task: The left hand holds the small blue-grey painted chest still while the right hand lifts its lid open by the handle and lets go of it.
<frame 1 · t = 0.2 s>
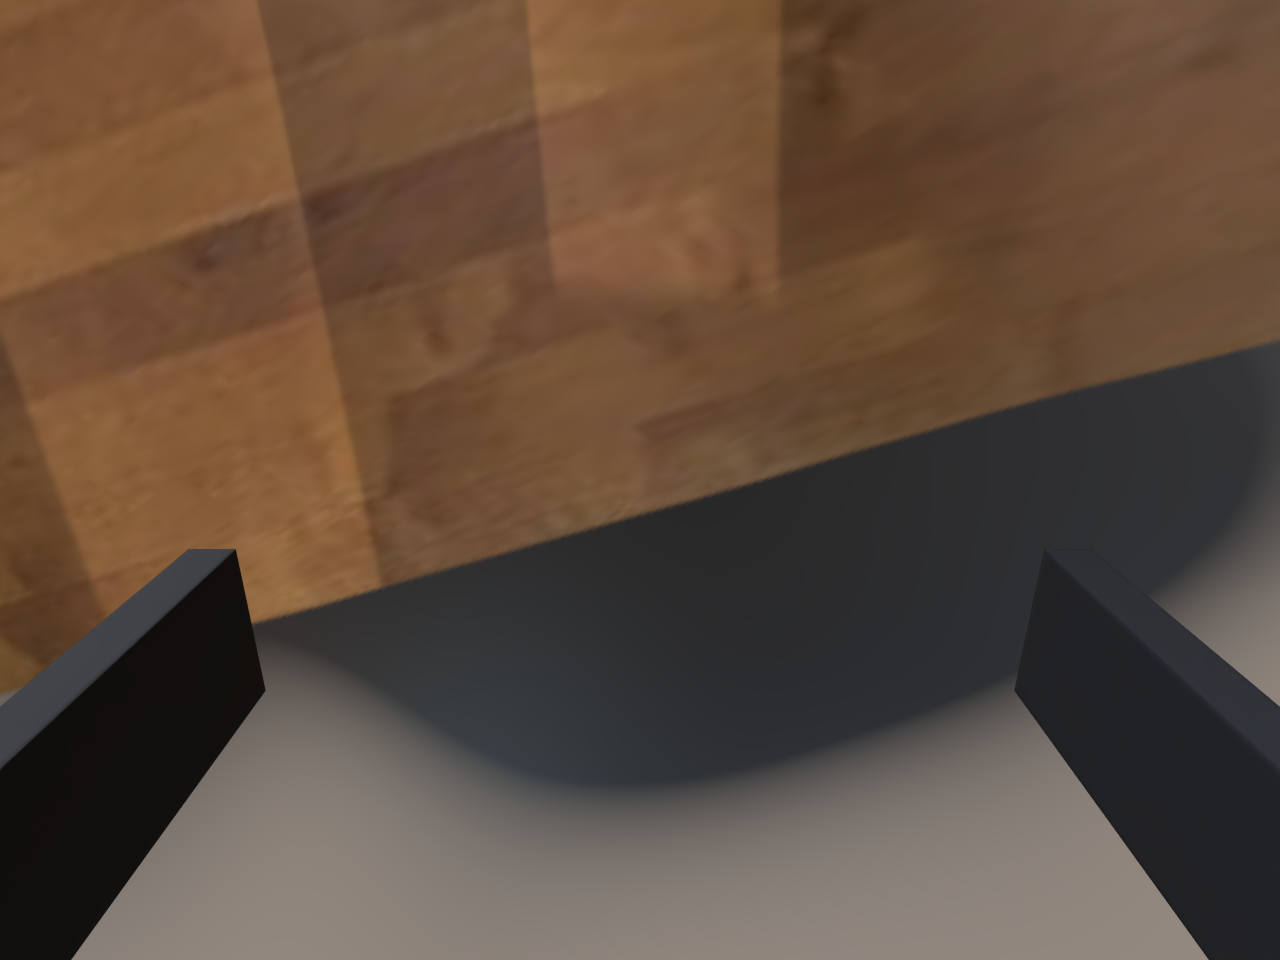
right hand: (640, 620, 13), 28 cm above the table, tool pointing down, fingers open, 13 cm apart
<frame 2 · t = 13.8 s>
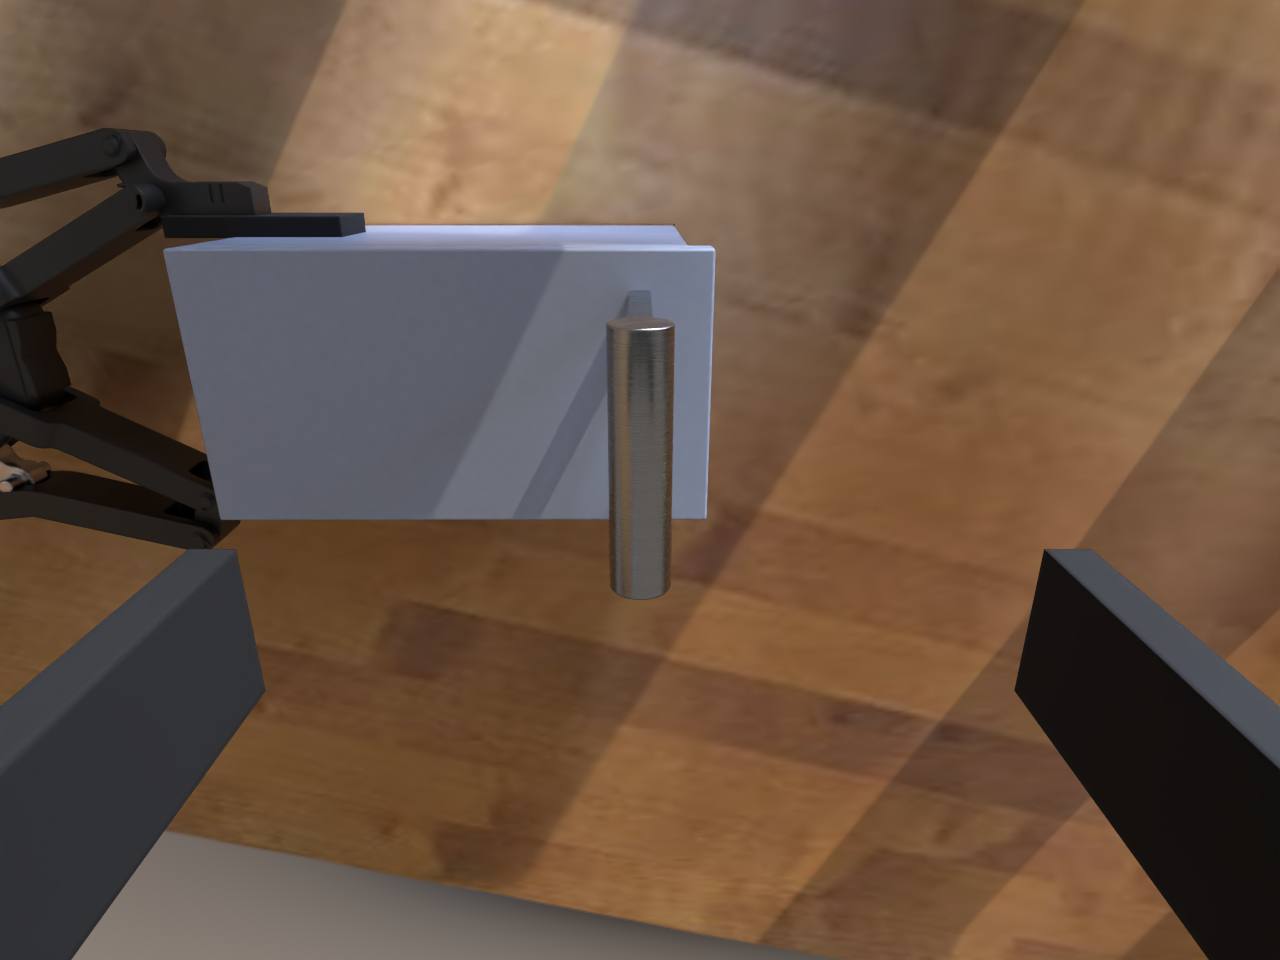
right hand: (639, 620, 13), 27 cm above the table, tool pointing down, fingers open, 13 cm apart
left hand: (369, 354, 32), fingers closed on chest, 9 cm apart
lid: (428, 421, 23), point 16 cm above the table, hinge at 0.0°
chest: (500, 325, 38), on the table, touching left hand
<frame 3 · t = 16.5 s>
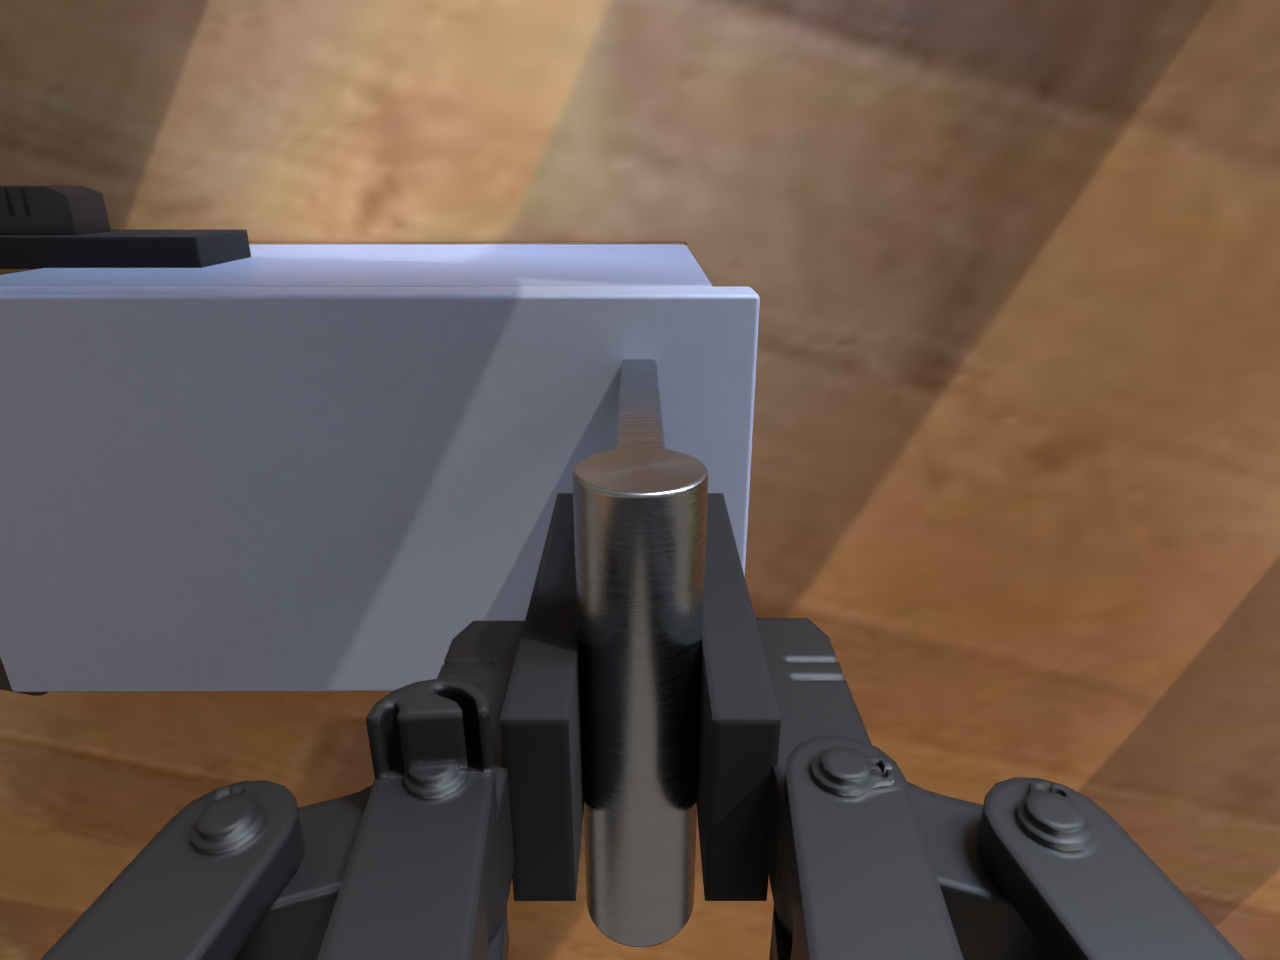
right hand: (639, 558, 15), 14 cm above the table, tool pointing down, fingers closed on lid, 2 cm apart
lid: (289, 584, 14), point 16 cm above the table, hinge at -0.1°, touching right hand
chest: (455, 375, 28), on the table, touching left hand
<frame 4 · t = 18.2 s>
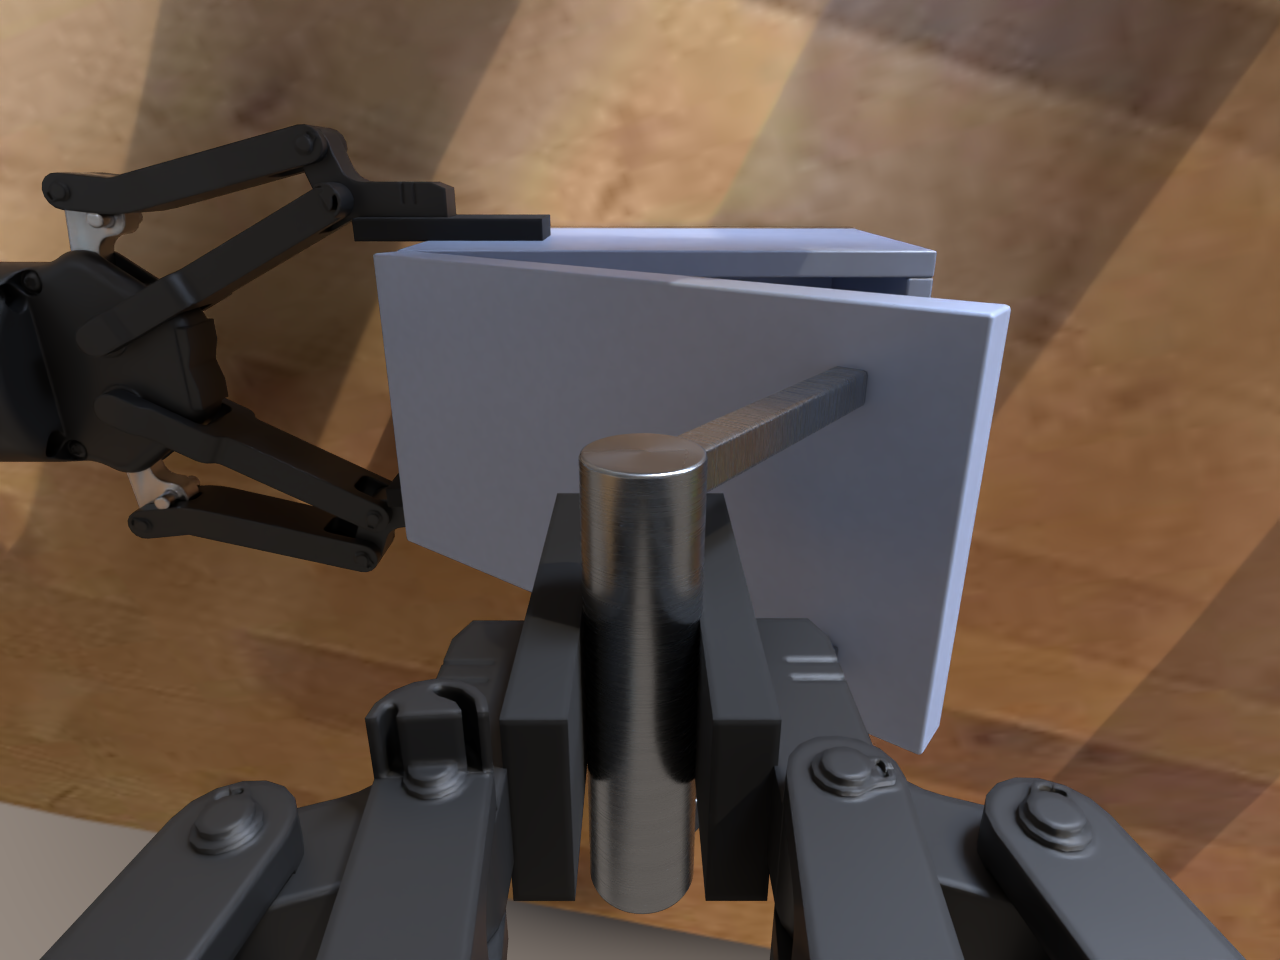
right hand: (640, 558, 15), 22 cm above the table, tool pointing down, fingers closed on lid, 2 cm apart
left hand: (551, 364, 30), fingers closed on chest, 9 cm apart
lid: (512, 503, 17), point 20 cm above the table, hinge at 36.5°, touching right hand
chest: (660, 333, 36), on the table, touching left hand
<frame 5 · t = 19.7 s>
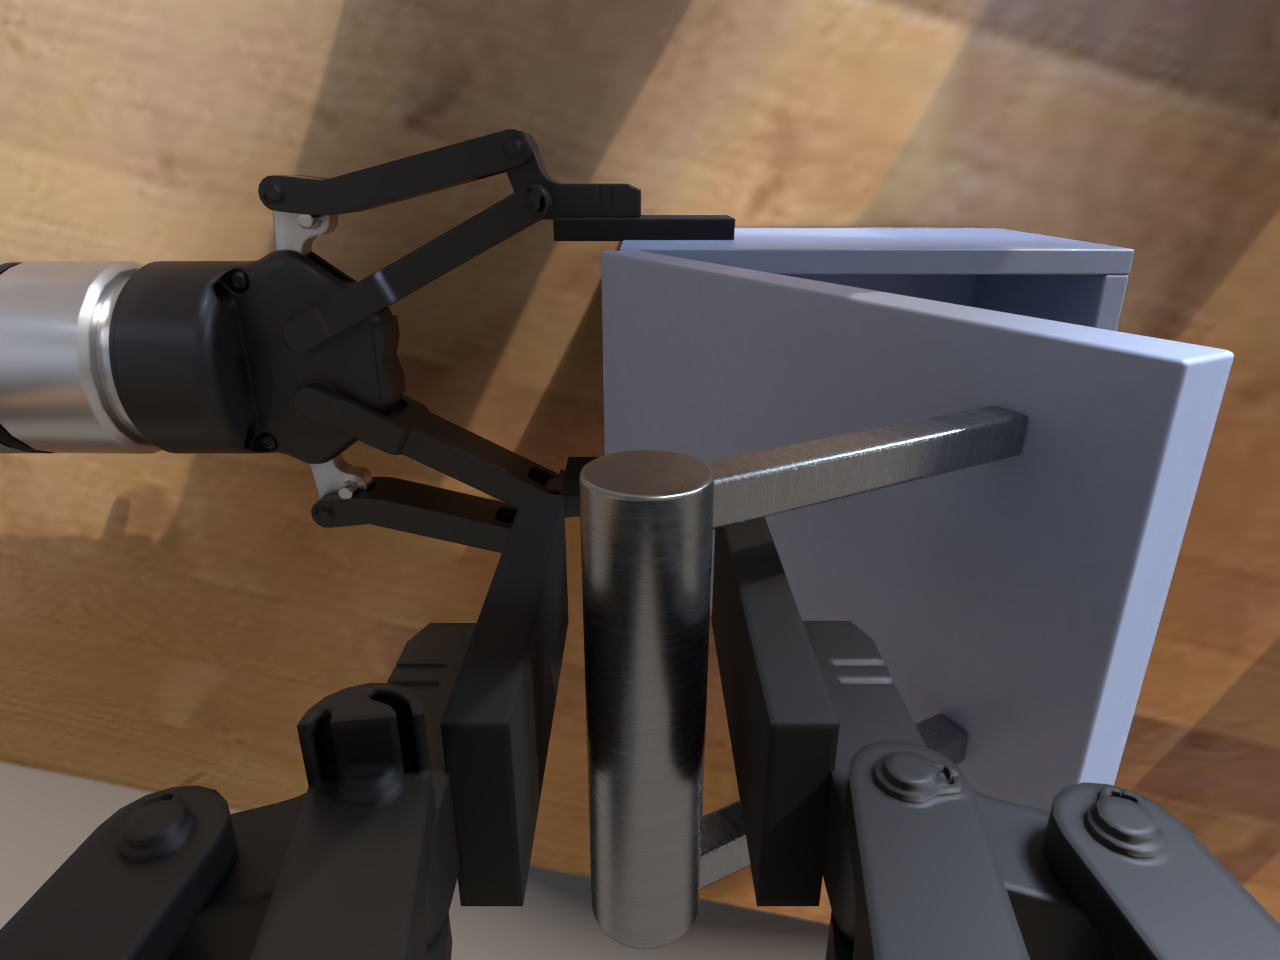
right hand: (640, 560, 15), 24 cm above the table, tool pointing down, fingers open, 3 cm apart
left hand: (724, 359, 31), fingers closed on chest, 9 cm apart
lid: (648, 505, 17), point 21 cm above the table, hinge at 60.7°
chest: (802, 329, 37), on the table, touching left hand
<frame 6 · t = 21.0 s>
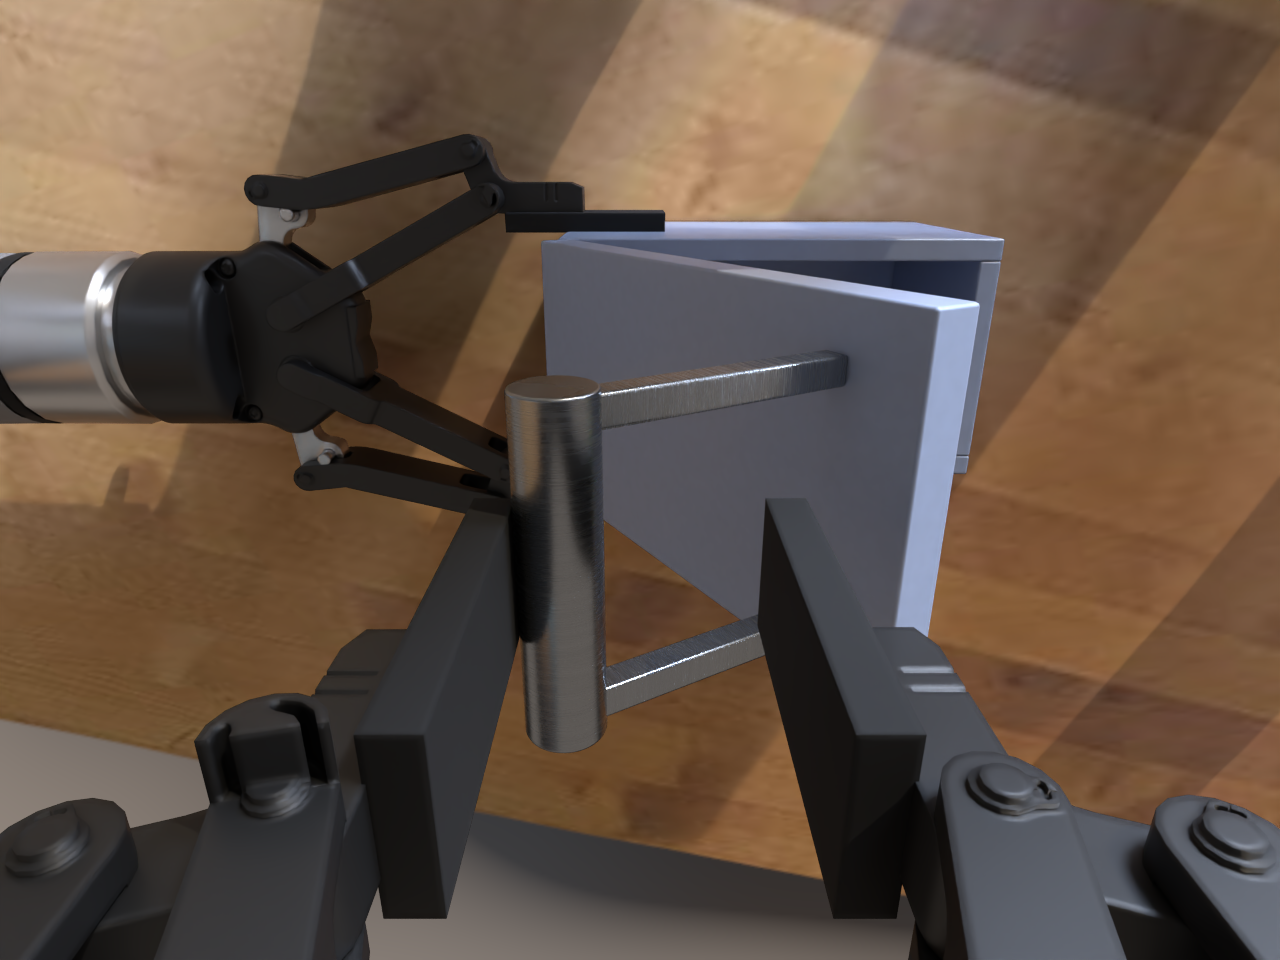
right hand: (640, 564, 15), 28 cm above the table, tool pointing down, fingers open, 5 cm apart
left hand: (662, 338, 35), fingers closed on chest, 9 cm apart
lid: (576, 445, 21), point 21 cm above the table, hinge at 58.3°
chest: (740, 314, 41), on the table, touching left hand
when the left hand's fingers open (6 cm above the table, at t = 23.9 s): chest stays where it is, on the table.
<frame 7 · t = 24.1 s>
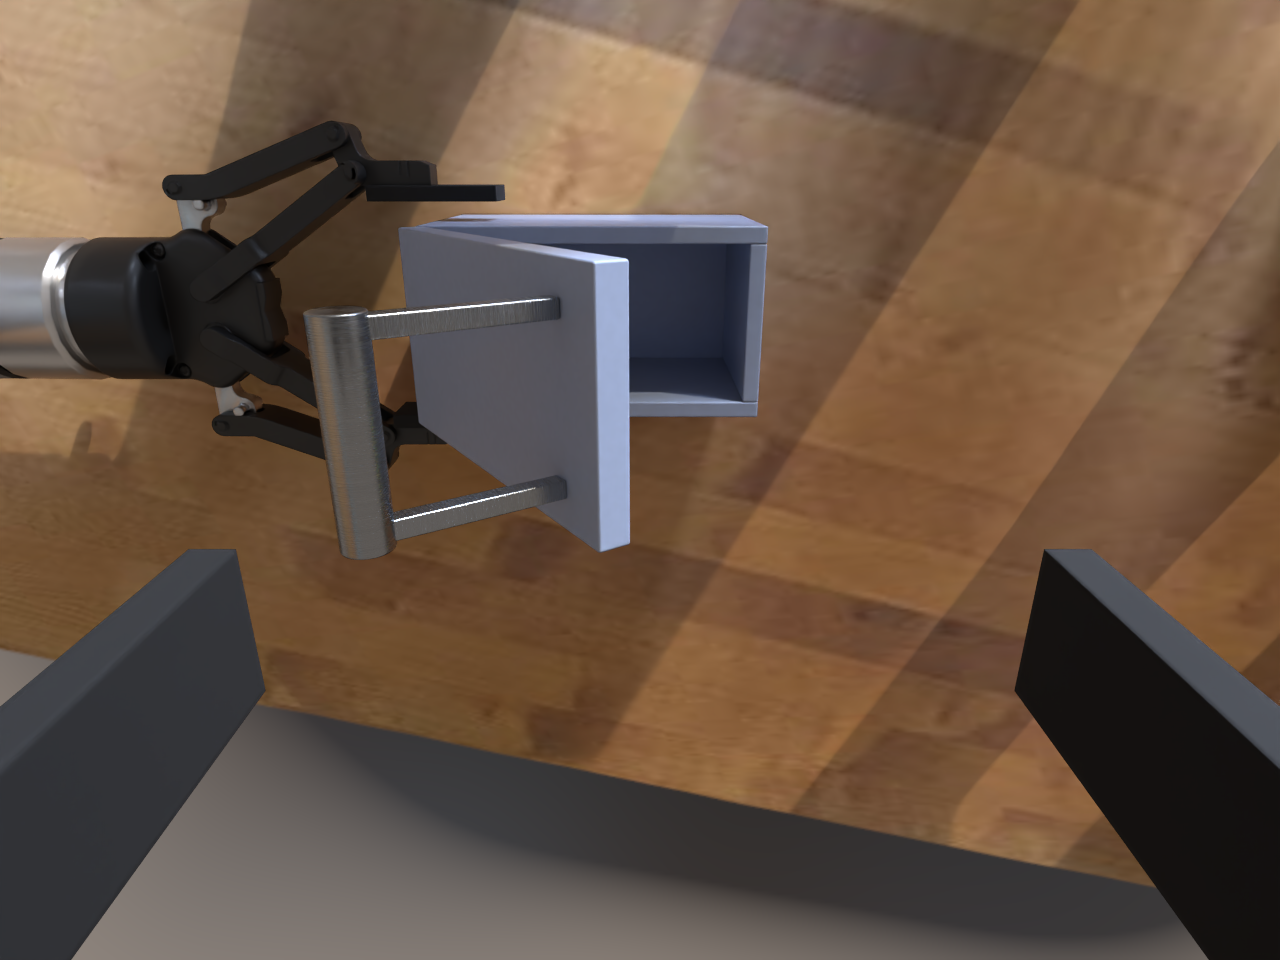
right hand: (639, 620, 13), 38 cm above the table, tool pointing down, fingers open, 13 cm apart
left hand: (508, 309, 43), fingers open, 11 cm apart
lid: (403, 375, 29), point 21 cm above the table, hinge at 56.0°
chest: (603, 293, 49), on the table
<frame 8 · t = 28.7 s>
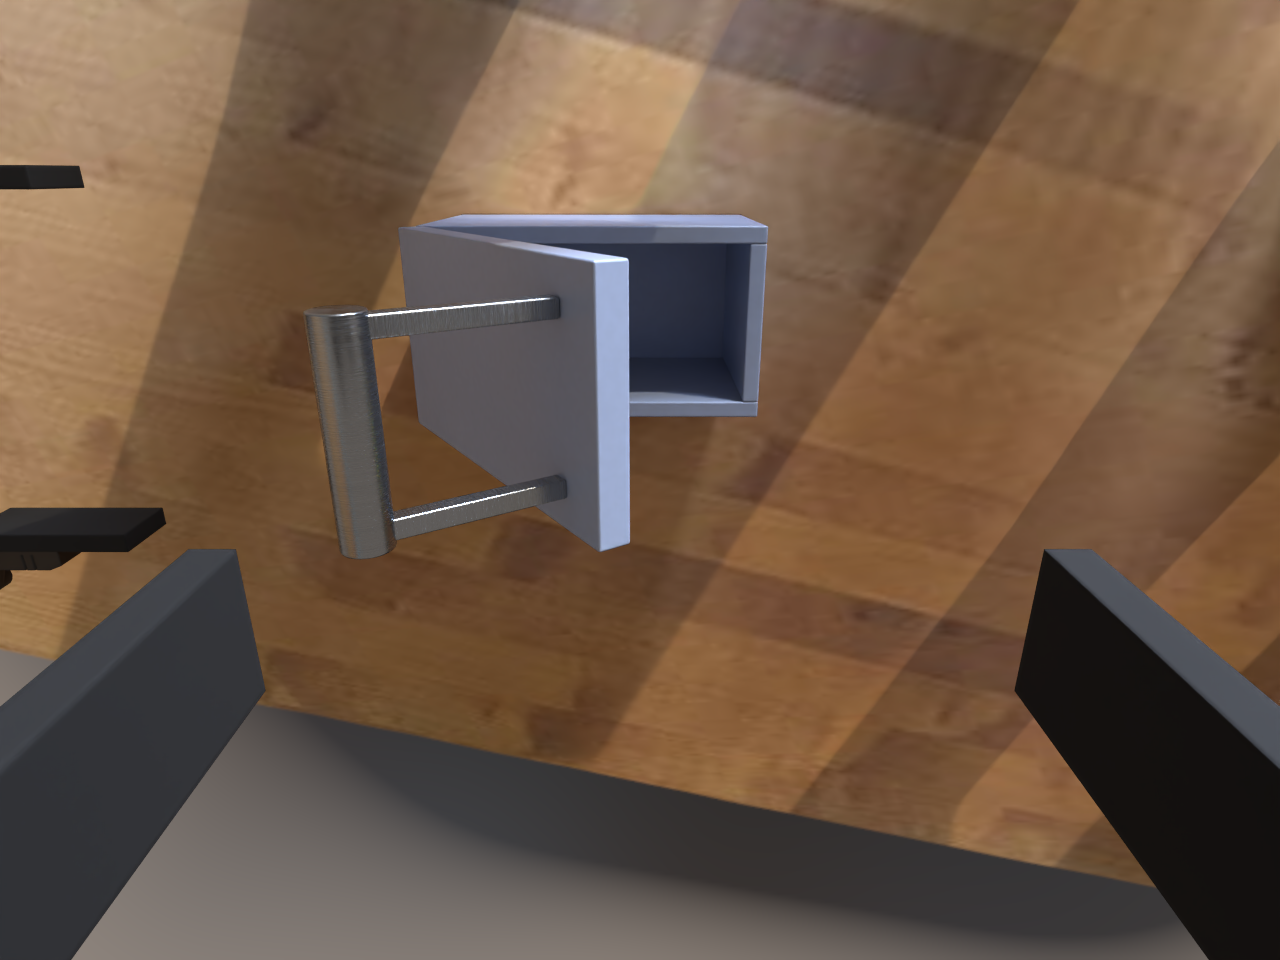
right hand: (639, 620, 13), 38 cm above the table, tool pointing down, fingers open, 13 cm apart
lid: (403, 374, 29), point 21 cm above the table, hinge at 56.0°
chest: (603, 293, 49), on the table
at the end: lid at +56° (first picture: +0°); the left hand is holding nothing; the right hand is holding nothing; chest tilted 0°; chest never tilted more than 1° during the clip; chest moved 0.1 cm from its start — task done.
